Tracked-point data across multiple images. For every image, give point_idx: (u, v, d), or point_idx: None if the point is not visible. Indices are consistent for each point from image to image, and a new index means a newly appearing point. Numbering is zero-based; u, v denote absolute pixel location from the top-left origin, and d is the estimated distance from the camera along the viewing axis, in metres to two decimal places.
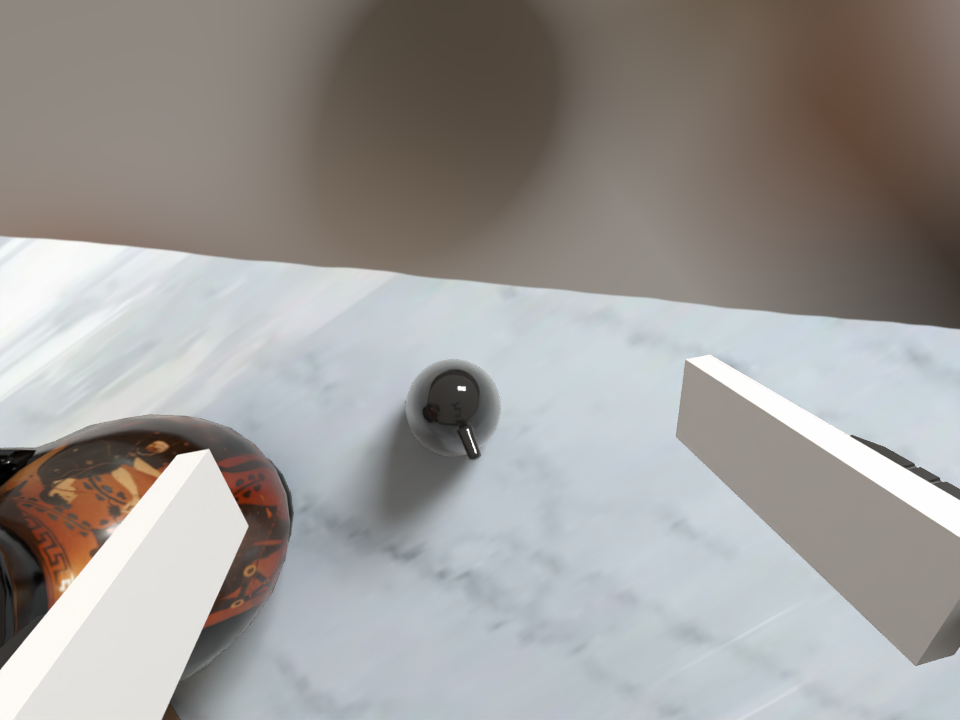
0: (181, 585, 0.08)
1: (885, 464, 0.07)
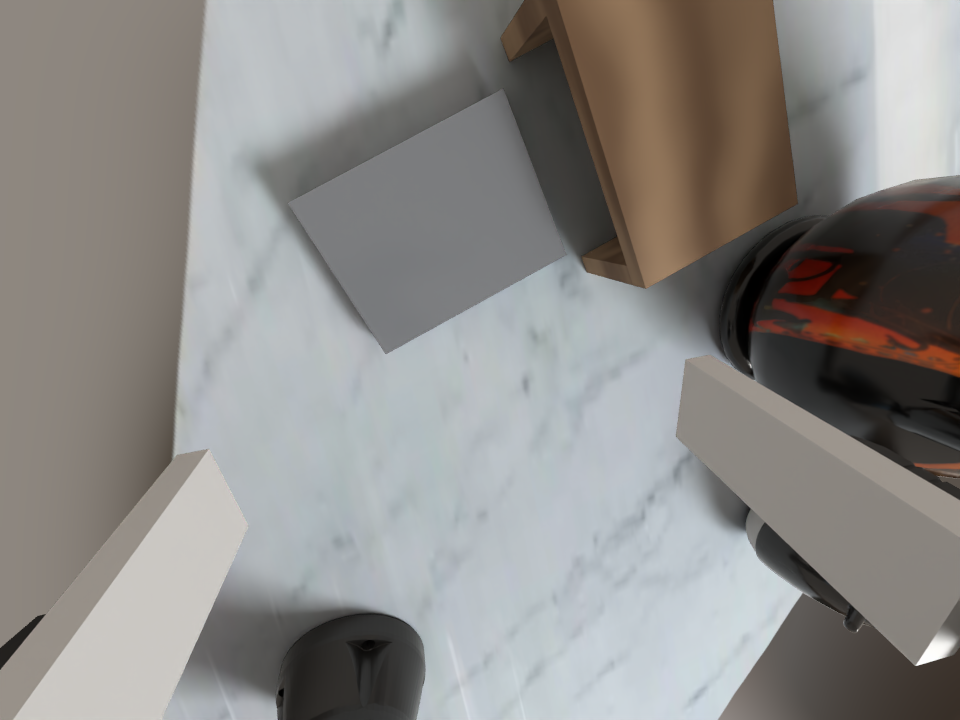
0: (181, 585, 0.08)
1: (885, 464, 0.07)
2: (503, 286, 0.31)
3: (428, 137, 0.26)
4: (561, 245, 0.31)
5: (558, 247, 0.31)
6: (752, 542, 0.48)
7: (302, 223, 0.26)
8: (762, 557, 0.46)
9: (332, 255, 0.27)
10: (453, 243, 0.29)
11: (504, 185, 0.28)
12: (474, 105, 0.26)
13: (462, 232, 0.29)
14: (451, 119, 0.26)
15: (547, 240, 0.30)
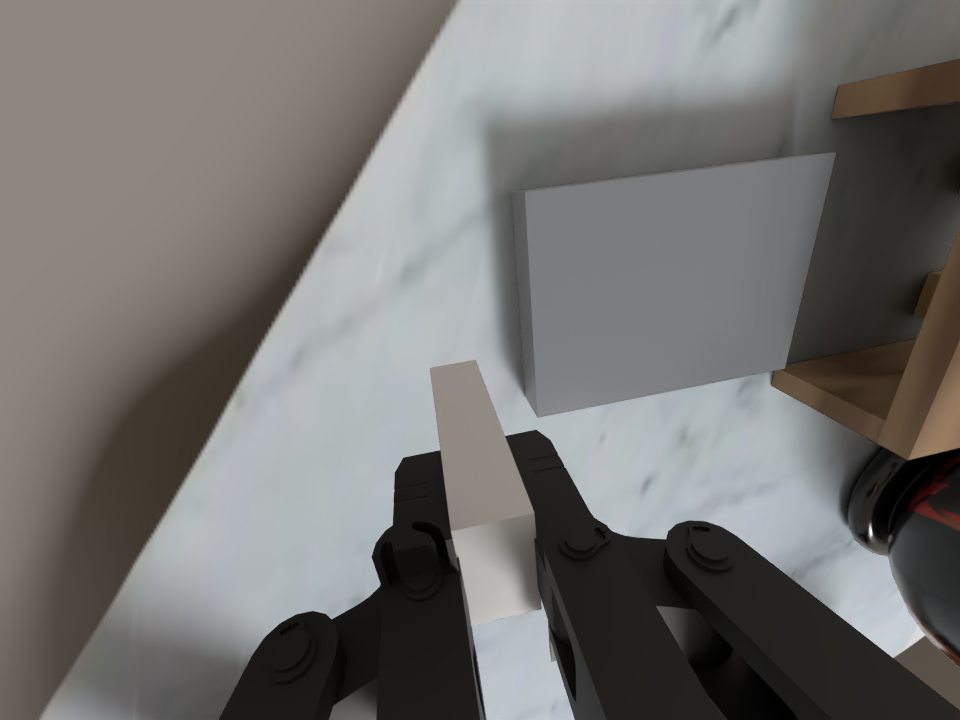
0: None
1: (502, 453, 0.08)
2: (704, 381, 0.24)
3: (727, 177, 0.19)
4: (786, 356, 0.24)
5: (781, 357, 0.24)
6: None
7: (528, 225, 0.18)
8: None
9: (543, 279, 0.19)
10: (681, 314, 0.22)
11: (771, 266, 0.22)
12: (796, 159, 0.19)
13: (697, 305, 0.22)
14: (763, 165, 0.19)
15: (776, 346, 0.24)
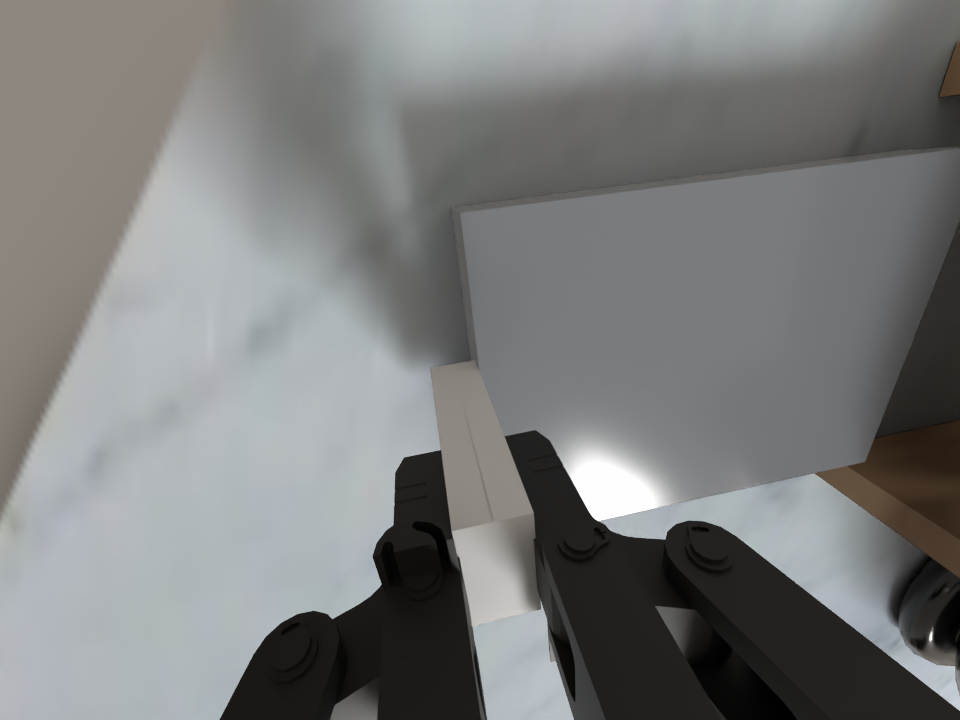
0: None
1: (501, 453, 0.08)
2: (747, 484, 0.16)
3: (808, 186, 0.11)
4: (868, 446, 0.17)
5: (862, 448, 0.17)
6: None
7: (470, 268, 0.11)
8: None
9: (498, 352, 0.12)
10: (721, 395, 0.14)
11: (863, 324, 0.14)
12: (924, 156, 0.12)
13: (746, 382, 0.14)
14: (870, 166, 0.11)
15: (857, 433, 0.16)
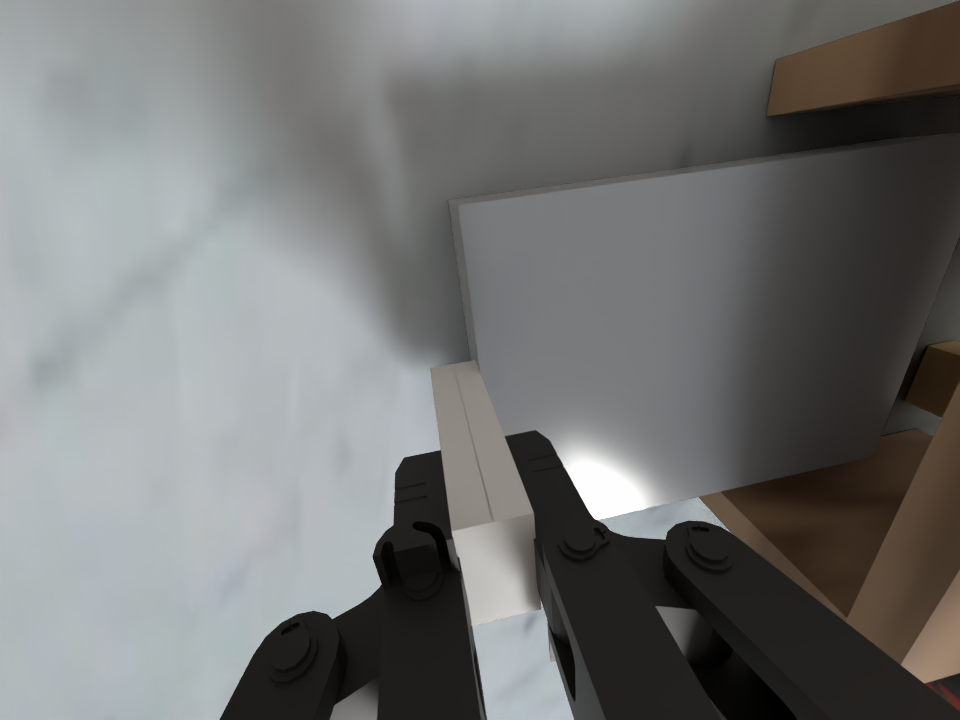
0: None
1: (501, 453, 0.08)
2: (753, 480, 0.16)
3: (815, 174, 0.11)
4: (876, 440, 0.16)
5: (870, 442, 0.16)
6: None
7: (469, 263, 0.10)
8: None
9: (499, 348, 0.12)
10: (726, 390, 0.14)
11: (871, 316, 0.14)
12: (934, 142, 0.11)
13: (751, 377, 0.14)
14: (879, 153, 0.11)
15: (865, 427, 0.16)
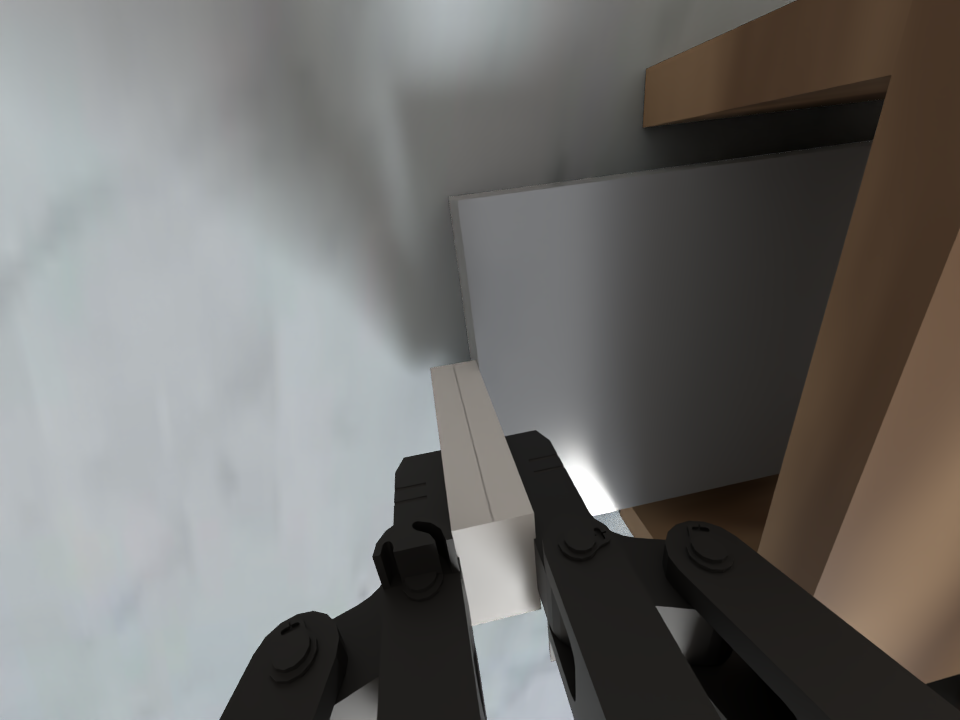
0: None
1: (501, 453, 0.08)
2: (750, 476, 0.16)
3: (810, 172, 0.11)
4: None
5: None
6: None
7: (468, 258, 0.11)
8: None
9: (498, 343, 0.12)
10: (723, 386, 0.14)
11: None
12: None
13: (748, 373, 0.14)
14: None
15: None
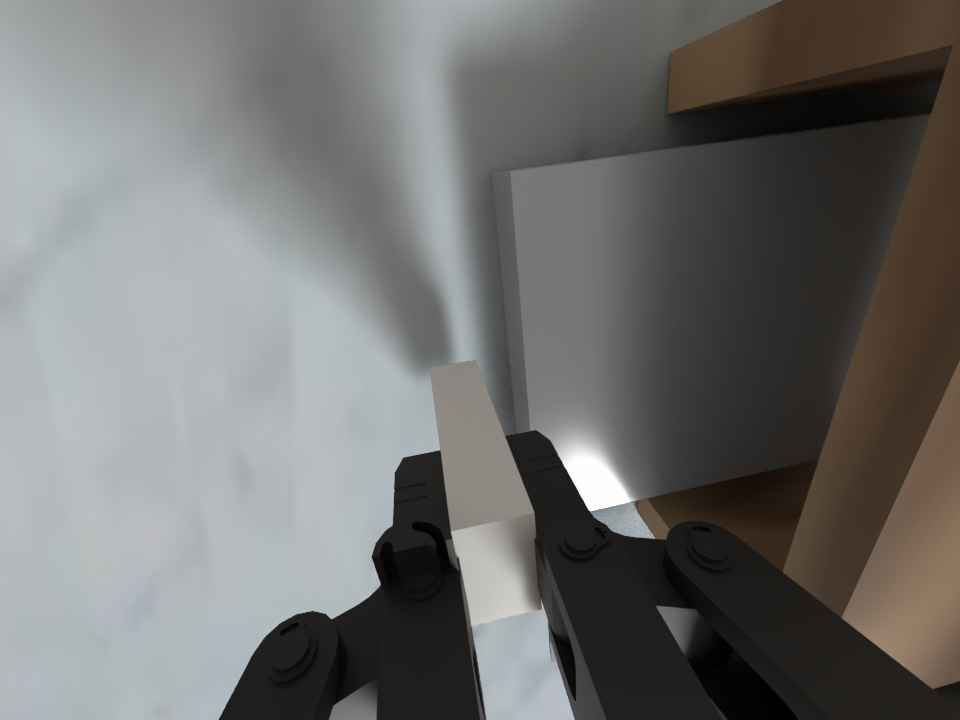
0: None
1: (502, 453, 0.08)
2: (789, 462, 0.16)
3: (870, 142, 0.11)
4: None
5: None
6: None
7: (518, 232, 0.10)
8: None
9: (544, 322, 0.11)
10: (768, 368, 0.14)
11: None
12: None
13: (794, 355, 0.14)
14: None
15: None
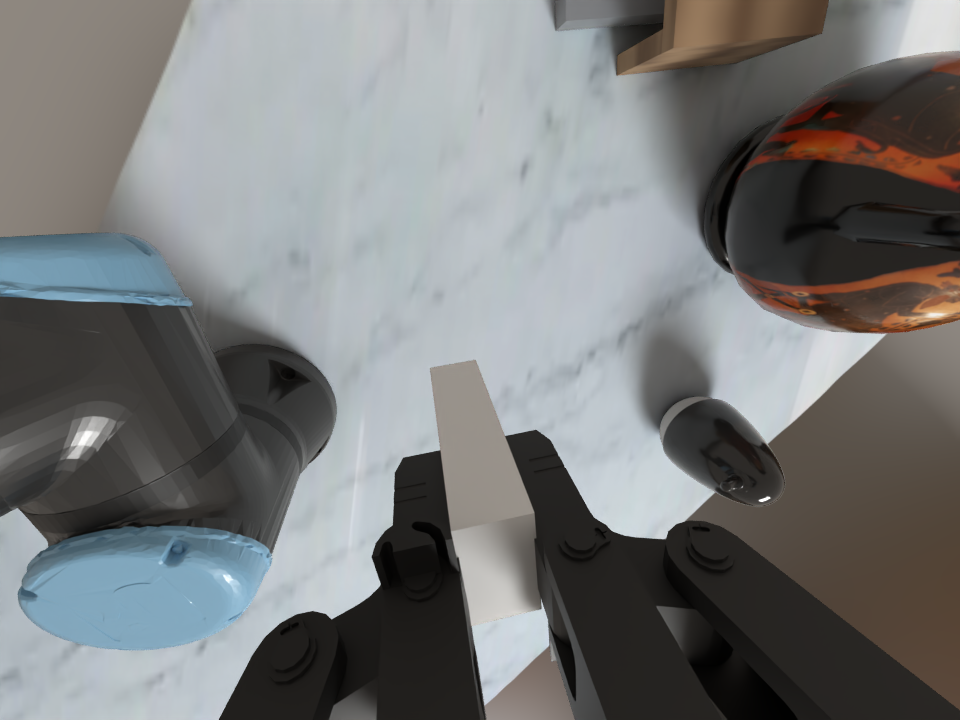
0: None
1: (502, 453, 0.08)
2: None
3: None
4: None
5: None
6: (663, 432, 0.51)
7: None
8: (667, 443, 0.50)
9: None
10: None
11: None
12: None
13: None
14: None
15: None
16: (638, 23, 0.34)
